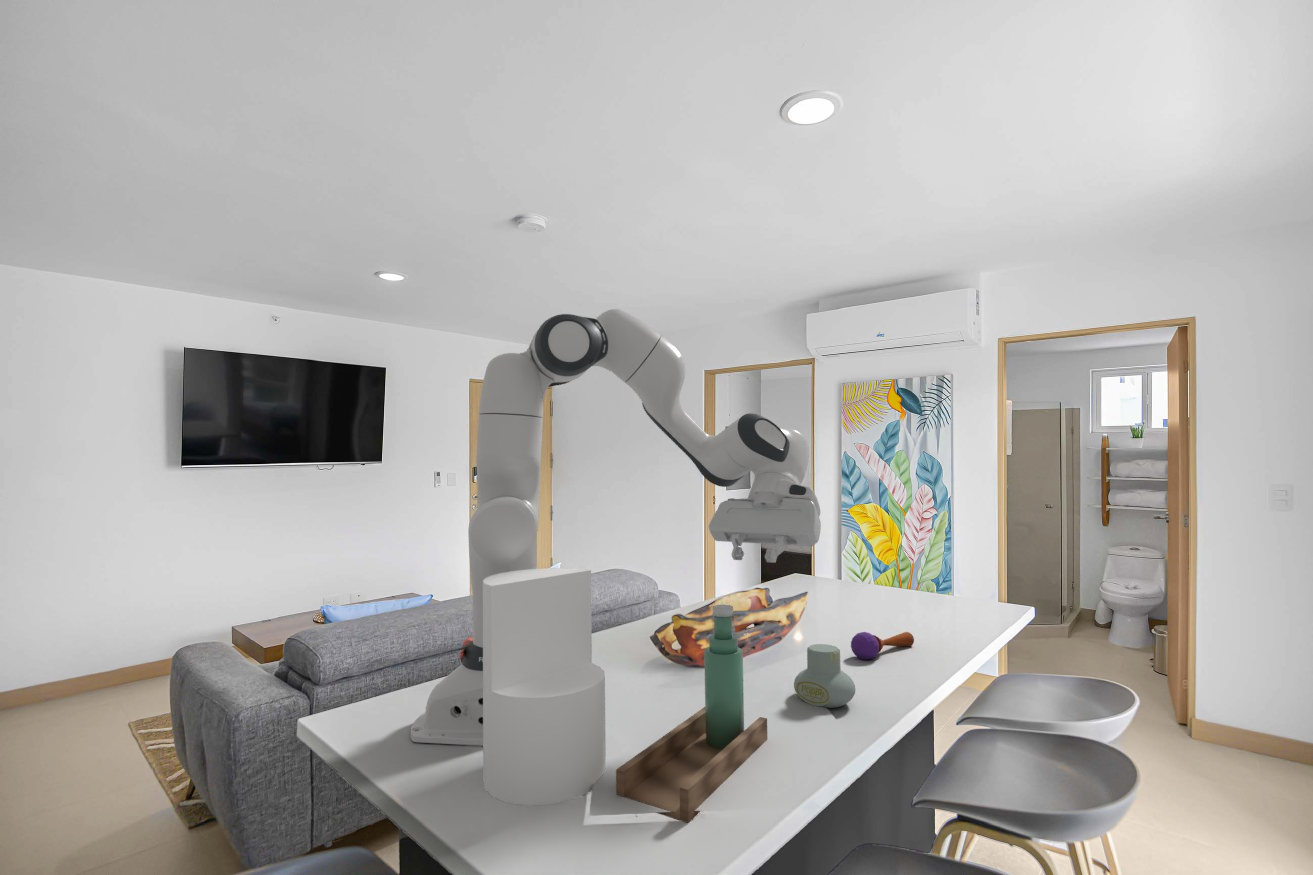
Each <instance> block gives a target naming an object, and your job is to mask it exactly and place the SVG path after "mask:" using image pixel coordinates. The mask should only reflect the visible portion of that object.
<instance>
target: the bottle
mask: <svg viewBox="0 0 1313 875" xmlns="http://www.w3.org/2000/svg"><path fill="white" fill-rule="evenodd" d="M733 607H734V606H732V605H728V604H716V605H713V606H712V616H713V634H711V635H709V638H708V639H709V640H708V643H709V644H708V647H706V648H704V652H703V653H704V655H703V656H704V658H703V659H704V661H703V662H704V700H705V701H704V707H705V722H706V743H707V744H708V745H709V746H711V747H713V748H716V749H724V748H725V747H726V746H727V745H729V744H730V743H731V742H732V741H733V740H734V739H735V738H737V737H738V736H739V735H740V734H741V733H742V732H743V731H745V706H744V705H745V704H744V703H745V702H744V699H745V698H744V697H745V696H744V651H743V648H740V647H739V646H738V637H737V636H736V635H734V634H733V616H734V608H733Z"/></svg>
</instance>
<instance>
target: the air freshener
mask: <svg viewBox="0 0 1313 875" xmlns="http://www.w3.org/2000/svg"><path fill="white" fill-rule="evenodd" d="M806 648H807V649H806V653H807V654H806V656H807V657H806V658H807V659H806V660H807V662H806V664H807V666H806V667H807V668H805V669H803V670H801V671H800V672H798V674H797V675H796V676H795V678H794V682H793V687H794V691H795V693H796V695H797V697H799V698H800V699H801V700H802V701H803V702H804V703H807V704H810V705H812V706H816V707H821V708H822V707H825V708H826V709H835V708H840V707H842V706H845V705H846V704H848V703H849V702H850V701H852V699H853V698H854V697H855V694H856V684H855V682H854V681H853V679H852V678H851V677H850V675H848V674H847V673H846V672H844V671H843V670H841V650H840V649H839V648H838V646H835V645H832V644H827V643H826V644H823V643H821V644H820V643H819V644H818V643H817V644H816V643H815V644H812V645H808V647H806Z"/></svg>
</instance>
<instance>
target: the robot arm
mask: <svg viewBox="0 0 1313 875" xmlns="http://www.w3.org/2000/svg"><path fill="white" fill-rule="evenodd" d="M685 364H686V363H685V359H684V356H683V355H682V354H681V352H680V350H679V349H678V348H677V347H676V346H675V345H674V344H673V343H672V342H671V341H669V340H668V339H667V338H665V337H664V336H663V335H661V334H660V333H659V332H657V331H656V330H655V329H654V328H652V327H651V326H649V325H648V324H647V323H645V322H643V321H642V320H641V319H639V318H637V317H635V316H634V315H631V314H630V313H628V312H626V311H625V310H621V309H619V308H612V309H608V310H606V311H604V312H602V313H600V314H599V315H598V316H597V317H596V318H592V317H587V316H581V315H575V314H571V313H562V314H556V315H554V316H551V317H548V319H546V320H544V322H543V323H541V325H540V326H539V328H538V329H537V330H536V332H535V334H534V335H533V336H532V339H531V340H530V344H529V345H528V348H527V349H526V350H525V351H524V352H519V353H516V352H508V353H507V352H506V353H502V354H499V355H497V356H495V357H493V358H492V359H491V360H490V361H489V362H488V364H487V366H486V370H485V373H484V377H483V381H482V385H481V391H480V396H479V397H480V398H479V407H478V418H477V419H478V421H477V423H478V424H477V438H476V440H477V442H476V455H475V456H476V458H475V461H476V462H475V464H476V482H477V483H476V485H477V486H476V488H477V491H476V493H477V494H476V497H477V499H476V500H477V502H476V510H475V511H474V512H473V514H472V516H471V518H470V520H469V524H468V530H467V532H468V554H469V555H468V556H469V557H468V558H469V571H470V582H471V592H472V593H471V595H472V596H471V597H472V637H468V638H466V640H464V642H463V645H462V647H461V649H460V651H459V654H460V655H459V659H460V663H461V664H460V665H459V666H458V667H456V668H455V669H454V670H453V671H451V672H450V673H449V674H448V675H447V676H445V677H444V678H443V679H442V680H440V682H438V683H437V684H436V686H435V687H434V688H433V689H432V690H431V692H430V694H429V696H428V699H427V701H426V706H425V711H424V712H423V713H422V714H420V715H419V716H418V717H417V718H416V719H415V720H414V722H413V724H412V725H411V727H410V740H411V741H412V742H413V743H414V742H415V743H423V744H424V743H425V744H443V745H446V744H447V745H462V746H463V745H464V746H465V745H466V746H480V747H481V746H482V747H483V580H484V579H485V578H487V577H489V576H491V575H495V574H499V573H504V572H510V571H518V570H527V569H538V529H539V517H540V516H539V515H540V514H539V513H540V490H541V465H542V464H541V463H542V449H543V448H542V447H543V446H542V443H543V428H544V426H543V424H544V423H543V422H544V402H545V397H546V392H547V390H548V388H551V387H555V386H561V385H565V384H568V383H570V382H573V381H575V380H576V379H577V380H578V379H579V378H580V377H582V376H583V375H584V374H585V373H586V371H587V370H589V369H590V368H591V367H600V368H603V369H606V370H607V371H609V372H612V373H613V374H614V375H615V376H616V377H617V378H619V379H620V380H621V381H622V382H623V383H625V384H626V385H628V386H629V387H630V389H632V391H633V392H634V393H635V394H636V395H637V396H638V397H639V399H640V400H641V402H642V403H641V404H642V408H643V410H644V411H645V414H646V415H647V416H648V417H649V419H650V420H651V421H652V422H653V423H654V424H655V425H656V426H657V427H658V428H659V429H660V430H661V432H663V433H664V435H666V436H667V437H668V438H669V439H670V440H671V441H672V442H673V443H674V444H675V445H676V446H677V447H678V448H679V450H681V451H682V452H683V453H684V454H685V455H686V456H687V457H688V458H689V459H690V461H692V463H693V464H694V465H695V467H696V468H697V469H698V471H699V473H700V474H701V475H702V476H703V478H704V479H706V480H707V481H708V482H709V483H710V484H713V485H714V486H718V487H723V488H725V487H726V488H727V487H732V486H733V485H735V484H737V482H739V481H740V480H741V479H742V478H744V476H746V475H747V474H749V473H750V472H752V473H753V474H754V480H753V481H752V482H753V483H752V486H751V488H750V491H749V494H748V496H747V498H728V499H727V500H724V501H722V502H720V503H719V505H718V506H717V509H716V511H715V512H714V514H713V516H712V518H711V520H710V521H709V524H708V530H709V533H710V535H711V537H712V538H713V540H714V541H716V542H725V543H727V542H728V543H731V544H732V546H733V548H732V552H731V557H732V559H733V561H742V560H743V557H744V555H745V552H744V550H743V548H742V545H743V543H744V544H745V543H746V544H747V543H748V544H764V545H773V547H771V548H766V551H765V554H764V559H765V561H766V563H771V564H772V563H776V562H777V559H778V557H779V555H781V554H782V553H783V552H784V551H786V550H787V546H800V547H801V546H804V547H813V546H815V545H816V544H817V543H818V542H819V540H820V536H821V526H822V523H821V519H820V516H821V507H820V503H819V501H818V497H817V495H816V493H815V491H814V490H813V488H812V487H809V486H806V485H801V484H802V483H803V481H804V480H805V476H806V473H807V469H808V464H809V457H810V450H809V443H808V441H807V439H806V437H805V436H804V435H803V434H802V433H801V432H799V431H798V430H796V429H793V428H790V427H779V426H778V425H777V424H776V423H774V422H773V421H771V420H770V419H768V418H767V417H765V416H763V415H761V414H757V413H752V412H751V413H746V414H744V415H743V414H742V416H740V417H739V418H738V419H736V420H735V421H733V422H732V423H731V424H729V425H728V426H727V427H726V428H725V429H724V430H722V431H721V432H719V433H718V434H716V435H711V434H708V433H707V432H705V430H703V429H702V428H701V427H700V426H699V425H698V424H697V422H695V421H694V419H693V418H691V416H689V415H688V413H686V411H685V410H684V409H683V407H682V405H681V403H680V402H681V401H680V395H681V392H682V388H683V385H684V382H685V378H686V365H685Z"/></svg>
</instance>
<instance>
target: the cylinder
mask: <svg viewBox="0 0 1313 875" xmlns="http://www.w3.org/2000/svg"><path fill="white" fill-rule="evenodd" d="M592 624H593V623H592V570H591V569H583V568H574V567H572V568H569V567H565V568H564V567H563V568H562V567H551V568H550V567H549V568H548V567H546V568H545V567H544V568H543V567H542V568H537V569H527V570H518V571H510V572H504V573H499V574H495V575H491V576H489V577H487V578H485V579H484V580H483V746H482V747H483V749H482V753H483V754H482V755H483V756H482V759H483V760H482V764H483V768H482V769H483V771H482V775H483V776H482V777H483V778H482V780H483V781H482V782H483V786H484V790H485V791H486V792H487V793H488V794H489V795H490V796H491V797H493V798H495V799H497V800H499V801H501V802H504V803H509V804H513V805H522V806H545V805H547V806H548V805H553V804H554V805H556V804H559V803H564V802H569V801H572V800H573V799H574V800H575V799H576V798H580V797H583V796H584V795H586V794H587V793H589V792H591V791H592V790H593V786H594V785H593V784H595V783H596V782H597V781H598V780H600V778H602V776H603V775H604V772H605V771H606V768H607V761H606V760H607V759H606V756H607V754H606V750H607V749H606V748H607V747H606V674H605V670H604V669H603V668H602V667H601V666H599V665H597V664H594V663H593V660H592V658H593V657H592V656H593V653H592V652H593V644H592V643H593V642H592V641H593V640H592V639H593V638H592V635H593V634H592V632H593V630H592Z"/></svg>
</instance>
